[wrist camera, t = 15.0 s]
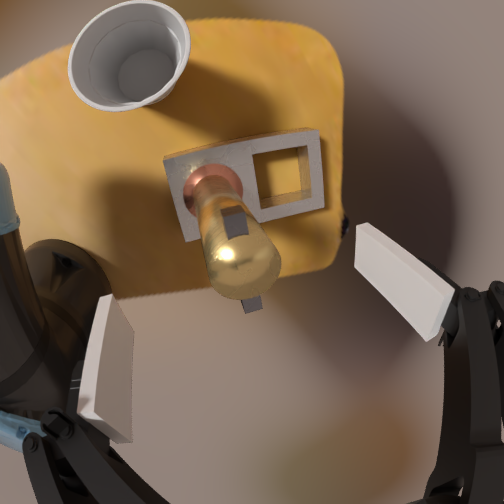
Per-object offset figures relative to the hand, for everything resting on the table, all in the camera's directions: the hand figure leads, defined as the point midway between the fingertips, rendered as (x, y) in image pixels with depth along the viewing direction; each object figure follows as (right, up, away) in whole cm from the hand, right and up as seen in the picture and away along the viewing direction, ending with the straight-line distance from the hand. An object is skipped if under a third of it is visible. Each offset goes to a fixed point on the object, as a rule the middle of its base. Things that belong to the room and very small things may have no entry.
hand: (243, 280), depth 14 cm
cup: (-10, +19, +8) cm, 23 cm away
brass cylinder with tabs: (-3, +7, +13) cm, 15 cm away
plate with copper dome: (0, +10, +16) cm, 19 cm away
